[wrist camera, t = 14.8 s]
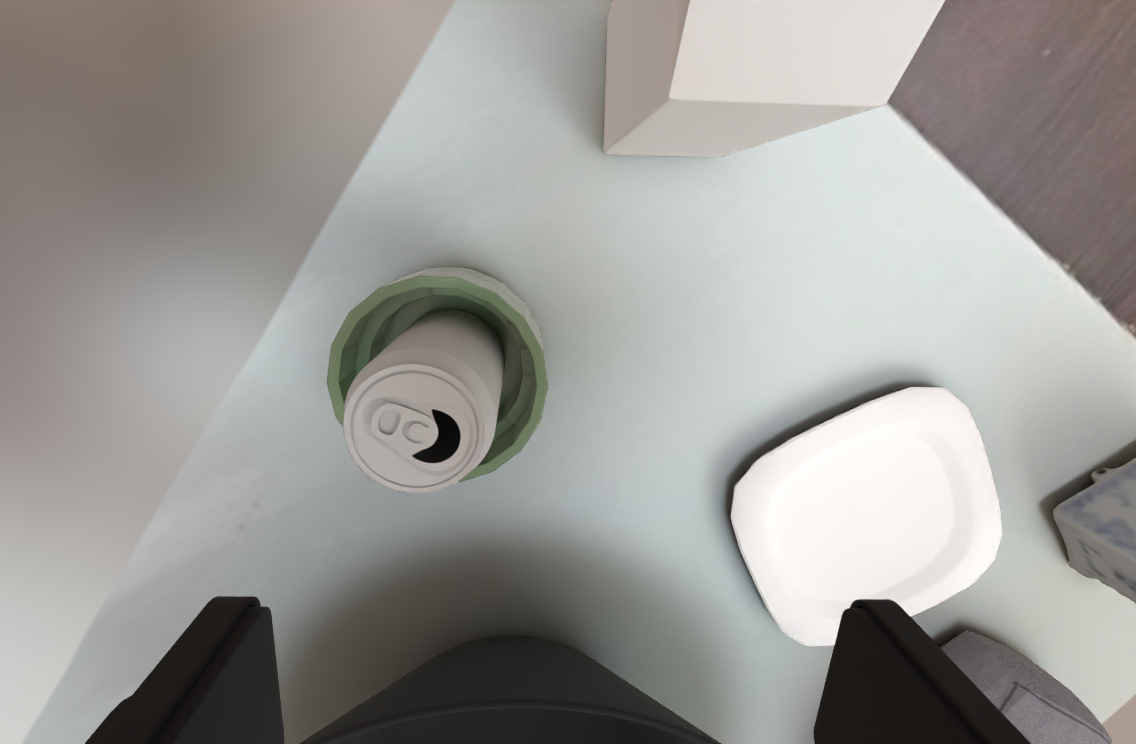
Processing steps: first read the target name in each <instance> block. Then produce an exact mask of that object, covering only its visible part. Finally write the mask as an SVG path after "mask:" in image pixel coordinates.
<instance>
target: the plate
mask: <svg viewBox="0 0 1136 744" xmlns="http://www.w3.org/2000/svg"><path fill="white" fill-rule="evenodd" d="M730 518H731V522H732V525H733V529H734V532H735V536H736V539H737V543H738V546H739V549H740V551H741V554H742V556H743V558H744V561H745V563H746V565H747V567H748V570H749V572H750V574H751V576H752V579H753V581H754V583H755V585H756V587H757V589H758V591H759V593H760V595H761V597H762V599H763V602H764V604H765V606H766V608H767V609H768V611H769V612H770V614H771V615H772V617H773V618H774V620H775V621H776V623H777V624H778V626H779V627H780V629H781V630H782V632H783V633H784V634H786V635H788V636H789V637H791V638H793V639H794V640H796V641H798V642H799V643H801V644H803V645H804V646H834V645H835V641H836V637H837V633H838V629H839V625H840V621H841V617H842V614H843V611H844V610H845V609H848V608H850V606H851V604H852V603H853V602H854V601H855V600H858V599H889V600H892V601H895V602H896V603H897V604H898V605H900V606H901V607H902V609H903V610H904V611H905V612H906V613H907V614H908V615H909V616H910V617H911V616H914V615H916V614H918V613H920V612H922V611H924V610H926V609H929V608H931V607H933V606H935V605H937V604H939V603H941V602H943V601H945V600H946V599H948V598H950V597H952V596H953V595H955V594H957V593H958V592H960V591H962V590H964V589H965V588H967V587H969V586H971V585H972V584H973V583H974V582H975V581H976V580H977V579H978V578H979V577H980V576H981V575H982V574H983V573H984V572H985V571H986V570H987V569H988V568H989V567H990V566H991V565H992V564H993V562H994V561H995V558H996V554H997V551H998V548H999V544H1000V541H1001V537H1002V534H1003V531H1002V522H1001V513H1000V505H999V499H998V495H997V491H996V488H995V484H994V480H993V476H992V472H991V468H990V465H989V461H988V458H987V455H986V451H985V448H984V444H983V441H982V437H981V435H980V433H979V431H978V428H977V426H976V424H975V422H974V420H973V417H972V415H971V413H970V411H969V409H968V406H966V405H965V404H964V403H963V402H961V401H960V400H959V399H958V398H957V397H955V396H954V395H953V394H952V393H950V392H949V391H948V390H947V389H945V388H944V387H914V386H909V387H906V388H903V389H900V390H897V391H894V392H891V393H888V394H885V395H882V396H880V397H877V398H874V399H871V400H868V401H866V402H864V403H862V404H860V405H858V406H855V407H853V408H851V409H849V410H847V411H845V412H842V413H840V414H838V415H836V416H834V417H831V418H829V419H827V420H825V421H823V422H821V423H819V424H817V425H815V426H813V427H811V428H809V429H807V430H805V431H803V432H801V433H799V434H797V435H795V436H793V437H791V438H789V439H787V440H786V441H784V442H783V443H781V444H779V445H778V446H776V447H775V448H773V449H771V450H770V451H768V452H766V453H765V454H763V455H762V456H760V457H758V458H757V459H756V460H755V461H754V462H753V463H752V464H751V466H750V467H749V468H748V469H747V470H746V472H745V473H744V474H743V475H742V476H741V478H740V479H739V480H738V481H737V482H736V484H735V485H734V489H733V497H732V504H731V512H730Z"/></svg>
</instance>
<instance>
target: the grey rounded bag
mask: <svg viewBox="0 0 1136 744" xmlns="http://www.w3.org/2000/svg"><path fill="white" fill-rule="evenodd" d="M940 648H941V649H942V651H943V652H944V653H945V654H946V655H947V656H948V657H949V658H950V659H951V660H952V661H953V662H954V663H955V664H956V665H957V666H958V667H959V668H960V669H961V670H962V672H963V673H964V674H965V675H966V676H967V677H968V678H969V679H970V680H971V681H972V682H973V683H974V684H975V685H976V686H977V687H978V688H979V689H980V690H981V691H982V693H983V694H984V695H985V696H986V697H987V698H988V699H989V700H990V701H991V702H992V703H993V704H994V705H995V706H996V707H997V708H998V709H999V710H1000V711H1001V712H1002V713H1003V715H1004V716H1005V717H1006V718H1007V719H1008V720H1009V721H1010V722H1011V723H1012V724H1013V725H1014V726H1015V727H1016V728H1017V729H1018V730H1019V731H1020V732H1021V733H1022V734H1023V736H1024V737H1025V738H1026V739H1027V740H1028V741H1029V742H1030V743H1031V744H1111V743H1112V740H1111V738H1110V737H1109V735H1108V733H1107V732H1106V730H1105V728H1104V727H1103V726H1102V725H1101V723H1100V722H1099V721H1098V720H1097V718H1096V717H1095V716H1094V715H1093V713H1092V712H1091V711H1090V710H1089V709H1088V708H1087V707H1086V706H1085V705H1084V704H1083V703H1082V702H1081V701H1080V700H1079V699H1078V698H1077V697H1076V696H1075V695H1074V694H1073V693H1072V692H1071V691H1070V690H1069V689H1068V688H1066V687H1065V686H1064V685H1063V684H1061V683H1060V682H1059V681H1057V680H1056V679H1055V678H1053V677H1052V676H1051V675H1050V674H1048V673H1047V672H1046V671H1044V670H1043V669H1041V668H1040V667H1039V666H1037V665H1036V664H1035V663H1033V662H1032V661H1030V660H1029V659H1028V658H1026V657H1025V656H1023V655H1022V654H1020V653H1018V652H1016V651H1014V650H1012V649H1010V648H1008V647H1006V646H1004V645H1003V644H1001V643H999V642H997V641H994V640H992V639H989V638H987V637H985V636H982V635H980V634H977V633H973V632H970V631H967V630H966V631H964V632H963V633H961V634H960V635H958V636H956V637H955V638H953V639H952V640H950V641H949V642H947V643H946V644H944V645H943V646H941V647H940Z"/></svg>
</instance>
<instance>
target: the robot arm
mask: <svg viewBox="0 0 1136 744" xmlns="http://www.w3.org/2000/svg"><path fill="white" fill-rule="evenodd" d="M814 741H815V744H1031V743H1030V742H1029V741H1028V740H1027V739H1026V738H1025V737H1024V736H1023V734H1022V733H1021V732H1020V731H1019V730H1018V729H1017V728H1016V727H1015V726H1014V725H1013V724H1012V723H1011V722H1010V721H1009V720H1008V719H1007V718H1006V717H1005V716H1004V715H1003V713H1002V712H1001V711H1000V710H999V709H998V708H997V707H996V706H995V705H994V704H993V703H992V702H991V701H990V700H989V699H988V698H987V697H986V696H985V695H984V694H983V693H982V691H981V690H980V689H979V688H978V687H977V686H976V685H975V684H974V683H973V682H972V681H971V680H970V679H969V678H968V677H967V676H966V675H965V674H964V673H963V672H962V670H961V669H960V668H959V667H958V666H957V665H956V664H955V663H954V662H953V661H952V660H951V659H950V658H949V657H948V656H947V655H946V654H945V653H944V652H943V651H942V649H941V648H940V647H939V646H938V645H937V644H936V643H935V642H934V641H933V640H932V639H931V638H930V637H929V636H928V635H927V634H926V633H925V632H924V631H923V630H922V628H921V627H920V626H919V625H918V624H917V623H916V622H915V621H914V620H913V619H912V618H911V617H910V616H909V615H908V614H907V613H906V612H905V611H904V610H903V609H902V607H901V606H900V605H898V604H897V603H896V602H895V601H892V600H889V599H858V600H855V601H854V602H853V603H852V604H851V606H850V608H848V609H845V610H844V611H843V614H842V617H841V621H840V625H839V629H838V633H837V637H836V641H835V645H834V649H833V653H832V657H831V661H830V666H829V670H828V674H827V678H826V682H825V686H824V690H823V694H822V698H821V702H820V706H819V710H818V714H817V718H816V722H815V726H814ZM85 744H284V729H283V720H282V710H281V701H280V692H279V682H278V673H277V663H276V654H275V644H274V635H273V625H272V616H271V611H270V609H269V607H261V605H260V601H259V600H258V598H257V597H215V598H213V599H212V600H211V601H210V602H208V603H207V605H206V606H205V607H204V608H203V610H202V611H201V612H200V613H199V614H198V616H197V617H196V618H195V619H194V621H193V622H192V623H191V624H190V625H189V627H188V628H187V629H186V630H185V632H184V633H183V634H182V635H181V636H180V638H179V639H178V640H177V641H176V642H175V644H174V645H173V646H172V647H171V649H170V650H169V651H168V652H167V653H166V655H165V656H164V657H163V658H162V660H161V661H160V662H159V663H158V664H157V666H156V667H155V668H154V669H153V671H152V672H151V673H150V674H149V675H148V677H147V678H146V679H145V680H144V682H143V683H142V684H141V685H140V686H139V688H138V689H137V690H136V691H135V693H134V694H133V695H132V696H130V697H128V698H127V699H125V700H123V701H122V702H121V703H120V704H119V705H118V706H117V707H116V708H115V709H114V710H113V711H112V712H111V713H110V714H109V715H108V716H107V718H106V719H105V720H104V721H103V722H102V724H101V725H100V726H99V727H98V728H97V730H96V731H95V732H94V733H93V734H92V736H91V737H90V738H89V739H88V740H87V741H86V743H85Z"/></svg>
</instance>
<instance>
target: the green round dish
mask: <svg viewBox="0 0 1136 744" xmlns="http://www.w3.org/2000/svg"><path fill="white" fill-rule="evenodd" d="M448 309H450V310H460V311H464V312H468V313H470V314H473V315H475V316H477V317H479V318H480V319H482V320H483V321H484V322H486V323H487V324H488V325H489V326H490V327H491V328H492V329H493V331H494V332H495V333H496V335H497V336H498V338H499V340H500V342H501V345H502V347H503V351H504V356H505V369H504V376H503V383H502V389H501V396H500V402H499V409H498V415H497V422H496V428H495V434H494V438H493V441H492V444H491V446H490V448H489V450H488V452H487V454H486V456H485V457H484V458H483V460H482V461H481V462H480V463H479V464H478V465H477V466H476V467H475V468H474V469H473V470H472V471H470V472H469V473H468V474H467V475H466V476H464V477H463V478H462V479H460V480H459V481H457V482H461V481H465V480H468V479H471V478H474V477H477V476H480V475H483V474H487V473H490V472H492V471H494V470H496V469H497V468H498V467H500V466H501V465H502V464H504V463H505V462H506V461H508V460H509V459H511V458H512V457H513V456H515V455H516V454H517V453H519V452H520V451H521V450H522V449H523V447H524V446H525V444H526V443H527V441H528V440H529V438H530V437H531V435H532V434H533V432H534V431H535V429H536V428H537V426H538V425H539V423H540V421H541V417H542V413H543V409H544V404H545V400H546V395H547V391H548V382H547V374H546V367H545V360H544V353H543V346H542V338H541V332H540V329H539V328H538V326H537V324H536V322H535V320H534V318H533V317H532V315H531V313H530V311H529V309H528V307H527V305H526V304H525V303H524V301H522V300H521V299H520V298H519V297H518V296H517V295H516V294H515V293H513V292H512V291H511V290H510V289H509V288H508V287H507V286H506V285H504V284H503V283H502V282H501V281H499V280H497V279H495V278H492V277H490V276H487V275H485V274H482V273H480V272H477V271H475V270H472V269H468V268H458V267H431V268H428V269H425V270H422V271H419V272H416V273H413V274H410V275H406V276H404V277H401V278H399V279H397V280H395V281H393V282H391V283H389V284H387V285H385V286H382V287H380V288H378V289H377V290H376V291H375V292H373V293H372V294H371V295H370V296H369V297H367V298H366V299H365V300H364V301H362V302H361V303H360V304H359V305H357V306H356V307H355V308H354V309H353V310H351V311H350V313H349V314H348V315H347V317H346V319H345V321H344V323H343V324H342V326H341V328H340V330H339V332H338V333H337V335H336V337H335V339H334V341H333V343H332V346H331V350H330V359H329V367H328V376H327V385H328V389H329V393H330V397H331V400H332V404H333V408H334V412H335V416H336V418H337V420H338V421H339V422H340V424H341V425H342V427H343V422H344V405H345V400H346V396H347V393H348V390H349V388H350V386H351V384H352V382H353V380H354V379H355V378H356V376H357V375H358V374H359V372H360V371H361V370H362V369H363V368H364V367H365V366H366V365H367V364H369V363H370V362H371V361H372V360H373V359H374V358H375V357H376V356H377V355H379V354H380V353H381V352H382V351H383V350H384V349H385V348H386V347H387V346H388V345H390V344H391V343H392V342H393V341H394V340H395V339H396V338H397V337H398V336H400V335H401V334H402V333H403V332H404V331H405V330H406V329H407V328H408V327H409V326H411V325H412V324H413V323H414V322H415V321H416V320H418V319H419V318H421V317H422V316H424V315H426V314H429V313H431V312H434V311H439V310H448Z"/></svg>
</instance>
